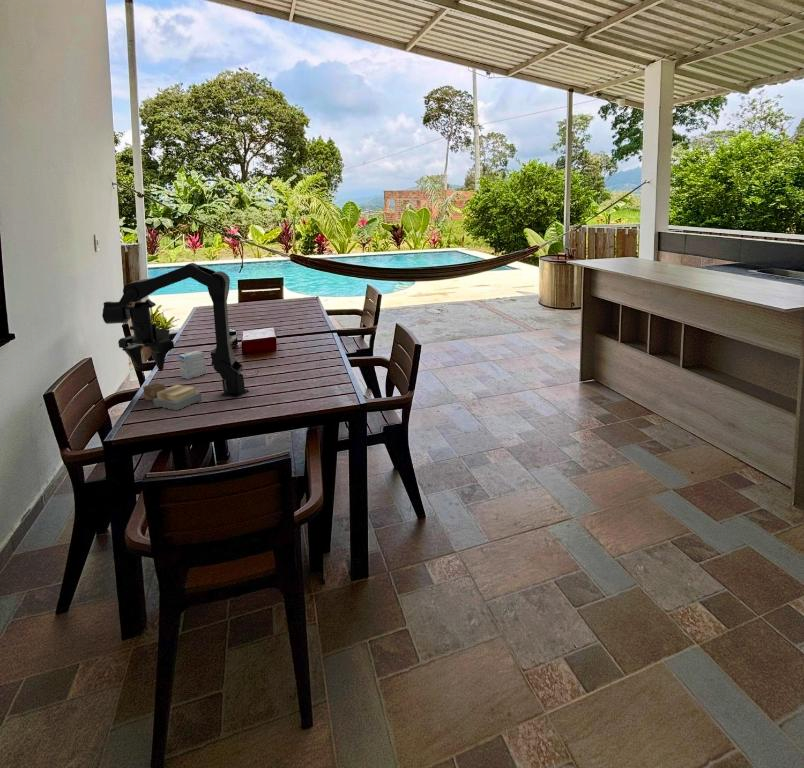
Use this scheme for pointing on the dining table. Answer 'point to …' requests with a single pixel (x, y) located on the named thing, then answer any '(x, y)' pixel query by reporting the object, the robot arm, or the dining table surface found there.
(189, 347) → the dining table surface
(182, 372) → the medicine box
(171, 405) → the slate slab
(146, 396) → the walnut cube
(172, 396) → the oak block
